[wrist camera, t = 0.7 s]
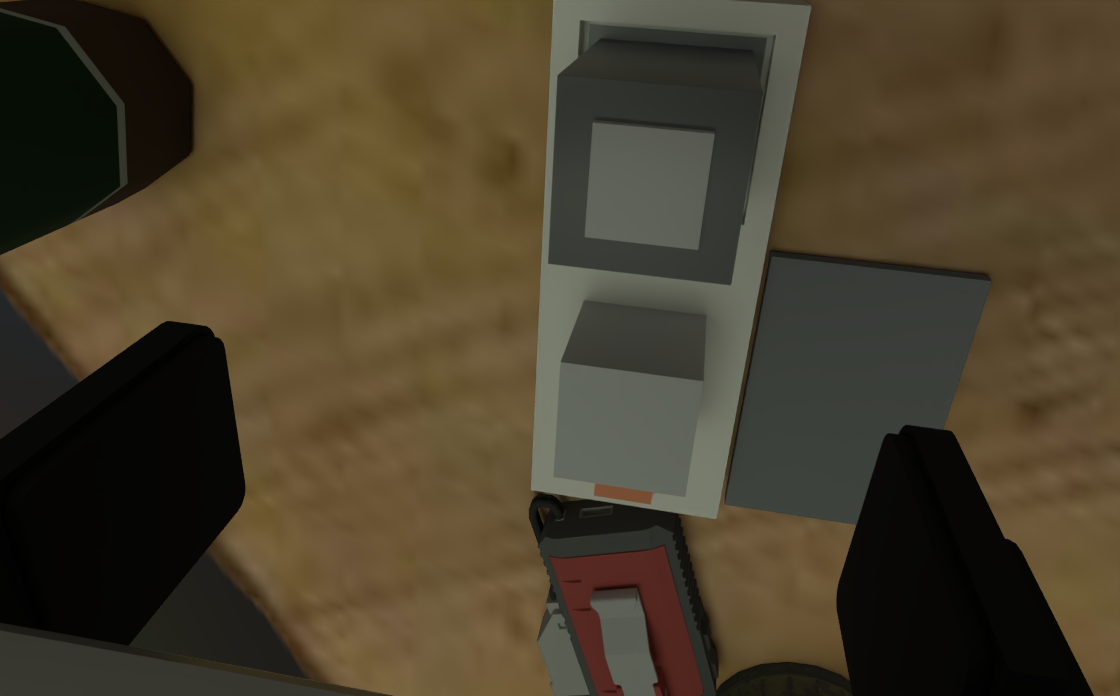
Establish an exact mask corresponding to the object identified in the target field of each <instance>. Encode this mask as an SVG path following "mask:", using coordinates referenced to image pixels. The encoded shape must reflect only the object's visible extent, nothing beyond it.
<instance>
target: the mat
mask: <svg viewBox="0 0 1120 696" xmlns="http://www.w3.org/2000/svg"><path fill="white" fill-rule="evenodd" d="M991 283H992V281H991V279H990V278H989V277H988V275H981V274H972V273H963V272H954V271H945V270H936V269H927V268H918V267H909V266H900V265H892V264H883V263H874V262H865V261H856V260H847V259H838V258H829V257H820V256H811V255H802V254H793V253H784V252H775V251H771V253H770V259H769V264H768V269H767V275H766V280H765V285H764V291H763V296H762V301H761V306H760V312H759V317H758V322H757V328H756V333H755V338H754V344H753V349H752V354H751V360H750V365H749V370H748V376H747V381H746V386H745V392H744V397H743V402H742V407H741V413H740V418H739V423H738V429H737V434H736V439H735V445H734V450H733V455H732V461H731V466H730V471H729V477H728V482H727V487H726V492H725V504H726V505H732V506H739V507H745V508H752V509H758V510H764V511H771V512H777V513H784V514H790V515H797V516H803V517H810V518H816V519H823V520H829V521H836V522H842V523H849V524H855V525H857V522H858V519H859V515H860V512H861V509H862V506H863V503H864V499H865V496H866V493H867V490H868V486H869V483H870V480H871V477H872V473H873V470H874V467H875V464H876V461H877V457H878V454H879V451H880V448H881V444H882V442H883V439H884V437H885V436H886V434H888V433H893V434H899V431H900V430H901V428H902V427H903V426H905V425H913V426H920V427H928V428H935V429H942V430H943V428H944V425H945V422H946V419H947V416H948V413H949V410H950V407H951V404H952V401H953V397H954V394H955V391H956V388H957V385H958V382H959V379H960V376H961V373H962V370H963V367H964V364H965V361H966V358H967V355H968V352H969V349H970V346H971V343H972V340H973V337H974V334H975V331H976V328H977V325H978V322H979V319H980V316H981V313H982V310H983V307H984V304H985V301H986V298H987V295H988V292H989V289H990V286H991Z"/></svg>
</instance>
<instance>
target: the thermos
mask: <svg viewBox="0 0 1120 696" xmlns="http://www.w3.org/2000/svg"><path fill="white" fill-rule="evenodd" d="M715 696H853V694H852V689H851V683H850V682H849V681H848V680H846V679H845V678H844V677H842V676H841V675H838V674H835V673H833V672H830V671H827V670H825V669H822V668H819V667H817V666H811V665H804V664H797V663H789V662H787V663H775V664H762V665H759V666H756V667H753V668H750V669H747V670H744V671H741V672H738V673H737V674H735V675H734V676H732V677H731V678H730V679H728V680H727V681H725V682H724V683H723V684H721V685H720V687H719V688H718V690H717V691H716V695H715Z"/></svg>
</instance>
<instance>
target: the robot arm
mask: <svg viewBox="0 0 1120 696" xmlns="http://www.w3.org/2000/svg"><path fill="white" fill-rule="evenodd" d="M244 496H245V479H244V473H243V466H242V459H241V453H240V446H239V440H238V433H237V426H236V420H235V413H234V406H233V400H232V393H231V386H230V380H229V373H228V366H227V360H226V353H225V348H224V344H223V342H222V341H221V339H219V338H217V337H215V336H214V333H213V332H212V330H211V329H210V328H208V327H207V326H202V325H195V324H188V323H180V322H173V321H166V322H164V323H162V324H160V325H159V326H158V327H156V328H155V329H153V330H152V331H151V332H149V333H148V334H146V335H145V336H144V337H142V338H141V339H139V340H138V341H137V342H135V343H134V344H132V345H131V346H130V347H128V348H127V349H126V350H124V351H123V352H121V353H120V354H119V355H117V356H116V357H114V358H113V359H112V360H110V361H109V362H107V363H106V364H105V365H103V366H102V367H100V368H99V369H98V370H96V371H95V372H94V373H92V374H91V375H89V376H88V377H87V378H85V379H84V380H82V381H81V382H80V383H78V384H77V385H75V386H74V387H73V388H71V389H70V390H68V391H67V392H66V393H64V394H63V395H61V396H60V397H59V398H57V399H56V400H55V401H53V402H52V403H50V404H49V405H48V406H46V407H45V408H43V409H42V410H41V411H39V412H38V413H36V414H35V415H34V416H32V417H31V418H29V419H28V420H27V421H25V422H24V423H22V424H21V425H20V426H18V427H17V428H16V429H14V430H13V431H11V432H10V433H9V434H7V435H6V436H5V437H3V438H2V439H0V696H392V695H387V694H382V693H376V692H371V691H366V690H361V689H356V688H350V687H345V686H340V685H335V684H329V683H324V682H319V681H314V680H308V679H303V678H298V677H293V676H287V675H282V674H277V673H271V672H266V671H261V670H256V669H250V668H245V667H240V666H234V665H229V664H223V663H218V662H213V661H207V660H202V659H197V658H191V657H186V656H180V655H175V654H169V653H164V652H159V651H153V650H147V649H142V648H137V647H131V646H129V644H130V643H131V642H132V641H133V640H134V638H135V637H136V636H137V635H138V633H139V632H140V631H141V630H142V628H143V627H144V626H145V625H146V624H147V622H148V621H149V620H150V619H151V617H152V616H153V615H154V614H155V612H156V611H157V610H158V609H159V608H160V606H161V605H162V604H163V602H164V601H165V600H166V599H167V598H168V596H169V595H170V594H171V593H172V592H173V590H174V589H175V588H176V587H177V585H178V584H179V583H180V582H181V580H182V579H183V578H184V577H185V576H186V574H187V573H188V572H189V570H190V569H191V568H192V567H193V566H194V564H195V563H196V562H197V561H198V560H199V558H200V557H201V556H202V554H203V553H204V552H205V551H206V550H207V548H208V547H209V546H210V545H211V544H212V542H213V541H214V540H215V539H216V537H217V536H218V535H219V534H220V532H221V531H222V530H223V529H224V528H225V526H226V525H227V524H228V523H229V521H230V520H231V519H232V518H233V516H234V515H235V514H236V513H237V512H238V510H239V508H240V507H241V505H242V502H243V499H244ZM836 601H837V614H838V619H839V624H840V630H841V635H842V640H843V646H844V651H845V657H846V662H847V667H848V673H849V678H850V683H851V689H852V694H853V696H1094V695H1093V693H1092V691H1091V689H1090V687H1089V685H1088V683H1087V681H1086V679H1085V677H1084V675H1083V673H1082V671H1081V669H1080V667H1079V665H1078V663H1077V661H1076V659H1075V657H1074V655H1073V653H1072V651H1071V649H1070V647H1069V645H1068V643H1067V641H1066V639H1065V637H1064V635H1063V633H1062V631H1061V629H1060V627H1059V625H1058V623H1057V621H1056V619H1055V617H1054V615H1053V613H1052V611H1051V609H1050V607H1049V605H1048V603H1047V601H1046V599H1045V597H1044V595H1043V593H1042V591H1041V589H1040V587H1039V585H1038V583H1037V581H1036V579H1035V577H1034V575H1033V573H1032V571H1031V569H1030V567H1029V565H1028V563H1027V561H1026V559H1025V557H1024V555H1023V553H1022V552H1021V550H1020V549H1019V547H1018V546H1017V544H1016V543H1014V542H1012V541H1011V540H1009V539H1005V538H1004V536H1003V534H1002V532H1001V530H1000V528H999V526H998V524H997V521H996V519H995V517H994V515H993V513H992V511H991V509H990V507H989V505H988V503H987V501H986V499H985V497H984V495H983V493H982V490H981V488H980V486H979V484H978V482H977V480H976V478H975V476H974V474H973V472H972V470H971V468H970V466H969V464H968V462H967V459H966V457H965V455H964V453H963V451H962V449H961V447H960V445H959V443H958V441H957V439H956V437H955V435H954V434H953V432H952V431H948V430H942V429H935V428H928V427H920V426H913V425H905V426H903V427H902V428H901V430H900V431H899V434H893V433H888V434H886V436H885V437H884V439H883V442H882V444H881V448H880V451H879V454H878V457H877V461H876V464H875V467H874V470H873V473H872V477H871V480H870V483H869V486H868V490H867V493H866V496H865V499H864V503H863V506H862V509H861V512H860V515H859V519H858V522H857V525H856V528H855V532H854V535H853V538H852V541H851V545H850V548H849V551H848V554H847V557H846V561H845V564H844V567H843V570H842V574H841V577H840V580H839V584H838V589H837V600H836Z"/></svg>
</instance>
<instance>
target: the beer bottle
mask: <svg viewBox="0 0 1120 696" xmlns="http://www.w3.org/2000/svg"><path fill="white" fill-rule="evenodd" d="M190 151H191V84H190V83H189V81H188V80H187V79H186V77H185V76H184V74H183V73H182V72H181V70H180V69H179V68H178V66H177V65H176V64H175V62H174V61H173V60H172V58H171V57H170V55H169V54H168V53H167V51H166V50H165V49H164V47H163V46H162V45H161V43H160V42H159V40H158V39H157V38H156V36H155V35H154V34H153V32H152V31H151V30H150V28H149V27H148V25H147V24H146V23H145V21H143V20H142V19H140V18H137V17H133V16H130V15H126V14H123V13H119V12H116V11H112V10H109V9H105V8H101V7H98V6H94V5H91V4H87V3H84V2H80V1H77V0H21V1H11V2H0V255H1V254H4V253H6V252H8V251H10V250H13V249H15V248H17V247H19V246H22V245H24V244H26V243H28V242H31V241H33V240H35V239H37V238H40V237H42V236H44V235H46V234H49V233H51V232H53V231H56V230H58V229H60V228H62V227H65V226H67V225H69V224H71V223H74V222H76V221H78V220H80V219H83V218H85V217H87V216H89V215H92V214H94V213H96V212H98V211H101V210H103V209H105V208H107V207H110V206H112V205H114V204H116V203H119V202H120V201H122V200H124V199H126V198H128V197H130V196H131V195H133V194H135V193H137V192H139V191H140V190H142V189H144V188H146V187H147V186H148V185H150V184H151V183H152V182H154V181H155V180H156V179H158V178H159V177H160V176H162V175H163V174H165V173H166V172H167V171H169V170H170V169H171V168H173V167H174V166H175V165H177V164H178V163H179V162H181V161H182V160H183V159H185V158H186V157H188V156H189V154H190Z"/></svg>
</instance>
